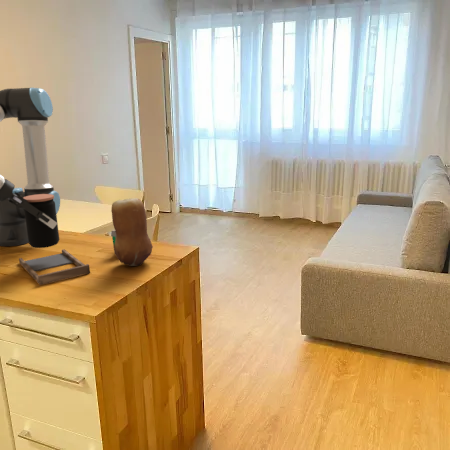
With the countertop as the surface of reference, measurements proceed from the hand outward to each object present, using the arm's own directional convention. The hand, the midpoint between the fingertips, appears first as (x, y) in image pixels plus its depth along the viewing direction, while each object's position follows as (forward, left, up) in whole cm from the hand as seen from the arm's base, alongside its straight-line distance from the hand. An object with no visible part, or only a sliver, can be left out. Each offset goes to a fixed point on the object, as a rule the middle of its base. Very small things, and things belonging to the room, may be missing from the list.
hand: (50, 223), depth 165 cm
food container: (-21, +18, -15) cm, 31 cm away
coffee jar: (+3, -1, -8) cm, 8 cm away
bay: (+5, +5, -15) cm, 17 cm away
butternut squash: (-9, +31, -15) cm, 36 cm away
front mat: (+2, -2, -15) cm, 15 cm away
